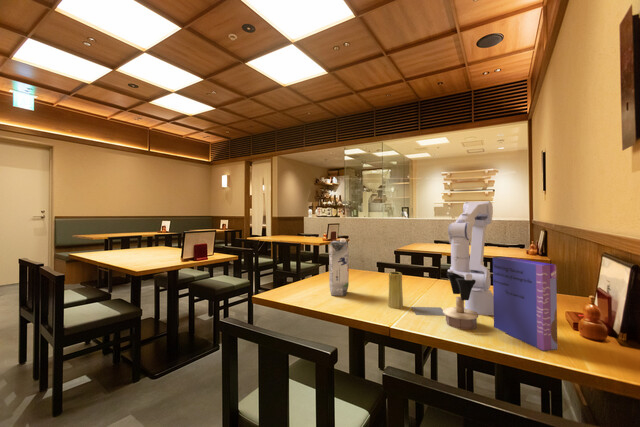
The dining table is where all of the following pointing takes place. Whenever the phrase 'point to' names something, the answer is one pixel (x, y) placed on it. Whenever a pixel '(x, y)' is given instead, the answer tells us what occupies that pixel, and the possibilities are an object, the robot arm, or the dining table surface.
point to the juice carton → (338, 267)
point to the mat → (428, 311)
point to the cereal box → (526, 301)
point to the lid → (460, 311)
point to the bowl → (461, 323)
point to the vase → (395, 290)
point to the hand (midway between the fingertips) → (460, 296)
